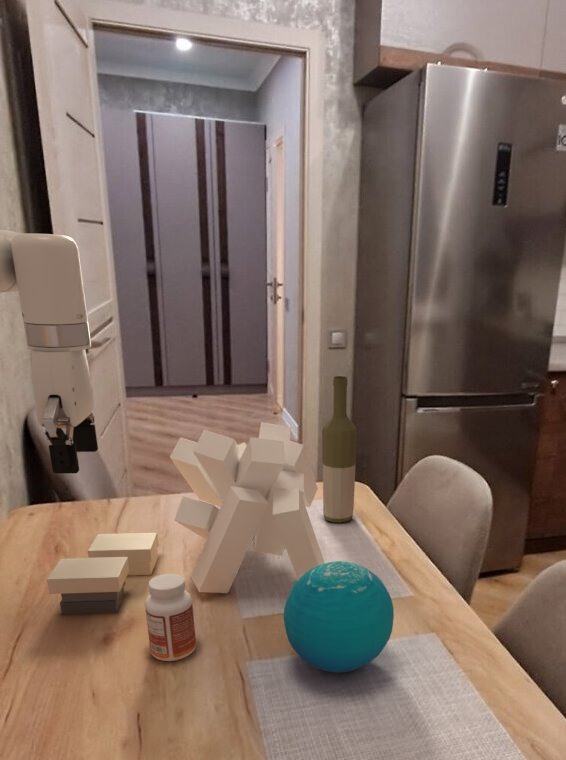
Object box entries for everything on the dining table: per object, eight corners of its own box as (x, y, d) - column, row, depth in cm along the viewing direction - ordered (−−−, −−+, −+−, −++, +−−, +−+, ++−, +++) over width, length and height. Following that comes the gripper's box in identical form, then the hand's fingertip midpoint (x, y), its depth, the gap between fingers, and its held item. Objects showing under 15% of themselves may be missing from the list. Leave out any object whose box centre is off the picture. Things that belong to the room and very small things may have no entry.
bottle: (335, 528, 137) (336, 382, 126) (315, 517, 142) (315, 376, 130) (361, 520, 142) (365, 378, 130) (341, 510, 146) (343, 372, 135)
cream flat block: (49, 594, 99) (46, 579, 98) (63, 572, 106) (60, 558, 105) (119, 591, 101) (117, 577, 100) (129, 570, 107) (127, 556, 106)
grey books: (61, 614, 102) (57, 591, 100) (72, 596, 107) (68, 573, 105) (119, 612, 103) (116, 589, 102) (126, 594, 108) (124, 572, 107)
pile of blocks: (151, 563, 130) (78, 431, 103) (272, 481, 143) (235, 345, 116) (258, 678, 114) (204, 557, 87) (384, 574, 126) (372, 440, 99)
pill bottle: (196, 636, 98) (191, 569, 94) (195, 660, 93) (190, 590, 88) (152, 640, 97) (144, 572, 92) (148, 665, 91) (140, 593, 87)
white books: (89, 577, 113) (85, 550, 111) (99, 558, 119) (96, 533, 118) (153, 575, 115) (150, 549, 113) (160, 557, 121) (157, 532, 119)
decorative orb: (413, 667, 94) (420, 572, 88) (328, 711, 84) (329, 607, 78) (346, 622, 104) (348, 534, 98) (263, 657, 94) (260, 562, 88)
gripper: (49, 327, 94) (66, 444, 101) (1, 345, 78) (26, 482, 85) (105, 328, 95) (119, 444, 102) (69, 346, 80) (88, 481, 86)
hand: (76, 461), depth 93 cm, fingers open, 9 cm apart
